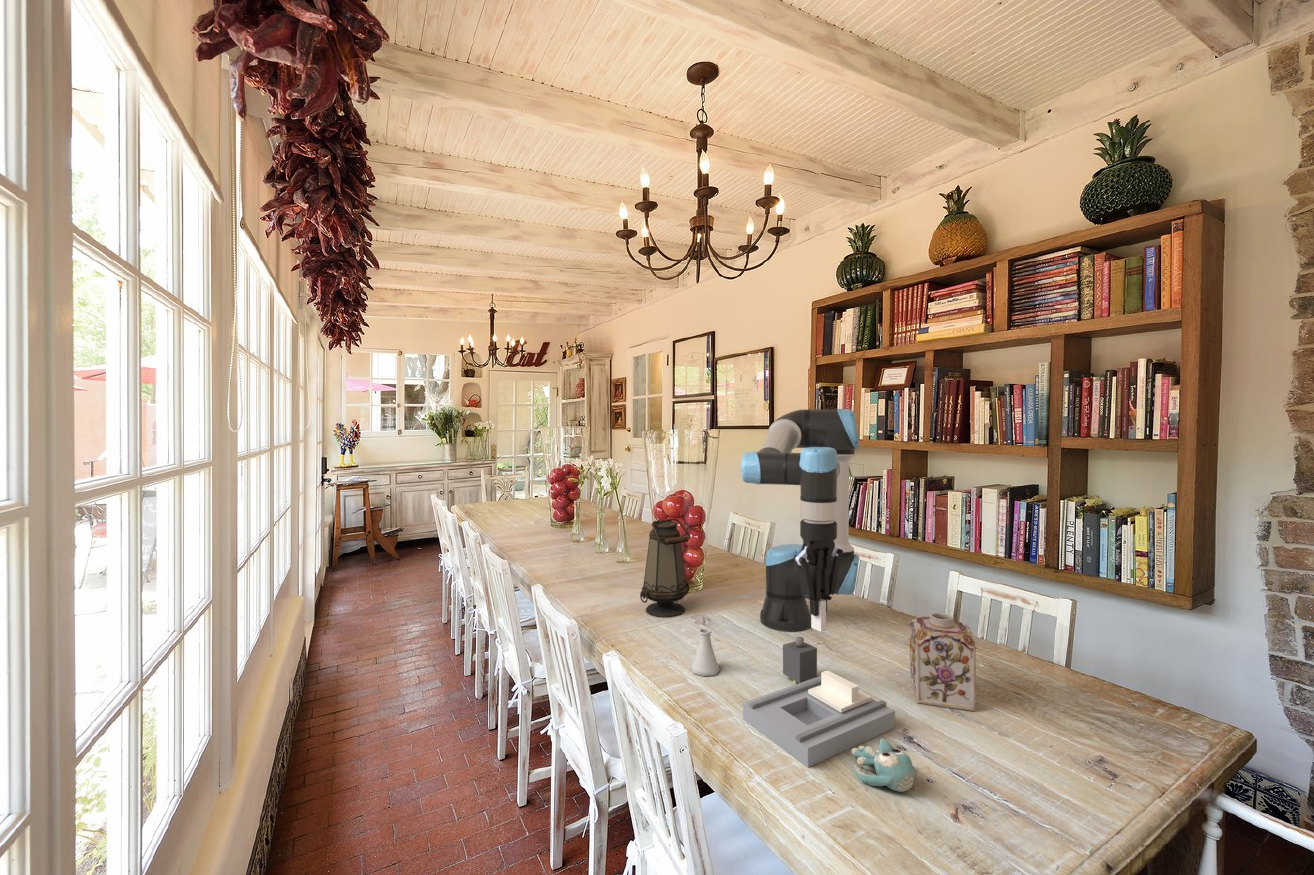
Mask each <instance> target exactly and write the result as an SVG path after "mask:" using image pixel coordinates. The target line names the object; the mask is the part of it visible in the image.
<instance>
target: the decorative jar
mask: <svg viewBox="0 0 1314 875" xmlns="http://www.w3.org/2000/svg"><path fill="white" fill-rule="evenodd" d="M909 627H910V628H909V677H910V678H909V679H910V682H911V687H912V690H913V695H914V699H915V702H916V704H921V705H926V706H927V705H929V706H934V707H941V708H949V709H954V710H963V711H969V712H974V711H975V710H976V700H977V699H976V698H977V697H976V693H977V690H976V689H977V685H976V684H977V658H976V656H977V653H976V650H977V647H976V642H975V639H974V635H973V632H972V630H971V628H970V627H969V626H968V624H966V623H963V622H961V621H958V620H955V618H954V616H953V615H951V614H948V613H947V612H946V613H945V612H940V611H939V612H931V613H930V615H927V616H921V617H919V616H918V617H917V618H913V619H911V622H910V624H909Z"/></svg>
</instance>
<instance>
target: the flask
mask: <svg viewBox="0 0 1314 875" xmlns="http://www.w3.org/2000/svg"><path fill="white" fill-rule="evenodd" d="M698 633H699V642H698V646H697V649H696V652H695V655H694V658H693V660H692V664H691V665H690V666H691V667H690V670H691V671H692V674H695V675H698V676H703V677H706V676H707V677H708V676H709V677H711V676H717V674H719V672H720V671H721V670H720V666H719V664H718V661H717V657H716V656H715V652H714V649H713V645H712V640H711V634H712V629H711V628H706V627H705V628H704V627H702V628H700V629H698Z"/></svg>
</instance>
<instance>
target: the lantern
mask: <svg viewBox="0 0 1314 875" xmlns="http://www.w3.org/2000/svg"><path fill="white" fill-rule="evenodd" d="M678 524H679V525H680V527H681V528H682V529H683V531H684V532H685V533H686V535H683V536H681V533H680V531H679V529H678V528H677V526H679V525H678ZM651 527H652V529H651V530H649V534H648V536H649V540H648V547H647V554H646V555H647V556H646V562H645V571H644V578H643V579H644V580H643V585H642V587H641V591H640V595H639V597H640V600H641V602H642V603H643V604H646V603H647V602H648V600H650V601H652V602H654V603H650V604H649V605H648V606H647V607H646V608H645V612H646V614H647V615H649V616H652V617H655V618H663V619H664V618H665V619H666V618H668V619H669V618H675V617H679V616H681V615H683V614H685V612H686V608H685V607H684V605H682V604H681V603H677V602H678V601H681V600H682V599H684V598H685V596H687V595H688V593H689V591H690V586H689V583H688V582H687V577H686V570H685V562H684V556H683V549H682V544H683V543H688V542H689V539H691V534H690V533H689V531H688V530H687V529H686V527H685V526H684V525H683V523H682V521H681V520H680V519H678V518H677V517H676V518H675V517H674V518H670V517H669V518H666V519H658V520H655V521H652V523H651Z"/></svg>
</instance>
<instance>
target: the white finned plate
mask: <svg viewBox="0 0 1314 875" xmlns="http://www.w3.org/2000/svg"><path fill="white" fill-rule="evenodd" d="M820 676H821V685H820V686H817V687H814V688H811V689H809V690H808V694H810V695H812V696H813V697H815V698H817V699H819V700H820V701H822V702H824V703H825V704H827V705H829V706H830V707H832V708H834V709H836V710H837V711H839V712H841V713H842V712H844V711H847V710H849V709H852V708H854V707H857V706H859V705H862V704H864V703H867V702H869V701H871V698H872V696H871V695H869V694H868V693H866V692H864V691H861V690H859V685H858V684H856V683H854V682H852V681H850V680H848V679H846V678H844V677H842V676H840V675H838V674H837V673H834V672H832V671H830V670H828V669H827V670H825V671H822V672H821V674H820Z"/></svg>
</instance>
